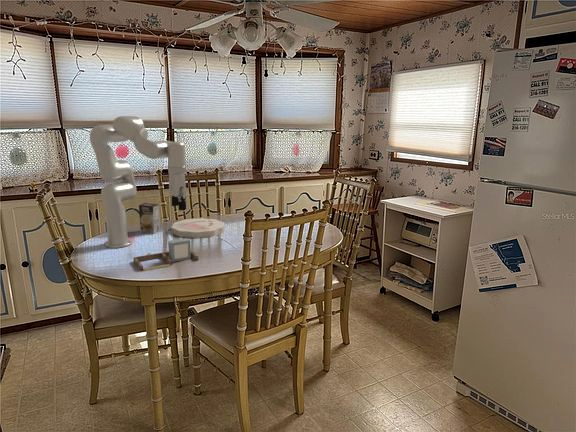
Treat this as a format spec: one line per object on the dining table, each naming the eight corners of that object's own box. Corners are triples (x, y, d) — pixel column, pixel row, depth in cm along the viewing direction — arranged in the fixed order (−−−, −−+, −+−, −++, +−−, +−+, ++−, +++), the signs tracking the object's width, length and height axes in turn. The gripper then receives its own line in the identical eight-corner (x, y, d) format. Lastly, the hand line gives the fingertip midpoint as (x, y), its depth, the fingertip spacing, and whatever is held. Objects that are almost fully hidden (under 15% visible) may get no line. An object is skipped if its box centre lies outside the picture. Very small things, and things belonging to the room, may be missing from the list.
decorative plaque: (160, 226, 230) (197, 216, 255) (160, 232, 231) (197, 221, 256) (200, 235, 215) (235, 223, 240) (200, 241, 216) (235, 229, 241)
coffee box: (139, 232, 229) (137, 204, 225) (146, 229, 235) (144, 202, 231) (154, 234, 227) (152, 206, 223) (160, 231, 233) (158, 203, 229)
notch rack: (133, 261, 185) (133, 255, 185) (188, 251, 199) (188, 246, 198) (141, 271, 174) (140, 265, 173) (199, 260, 188) (198, 255, 187)
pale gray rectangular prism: (169, 259, 189) (168, 240, 187) (187, 256, 194) (187, 238, 191) (171, 262, 185) (170, 243, 183) (190, 258, 190) (190, 240, 188)
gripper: (162, 168, 185) (164, 205, 189) (175, 173, 171) (177, 212, 175) (178, 167, 189) (180, 203, 193) (192, 172, 175) (193, 210, 179)
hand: (178, 207), depth 184 cm, fingers open, 9 cm apart
